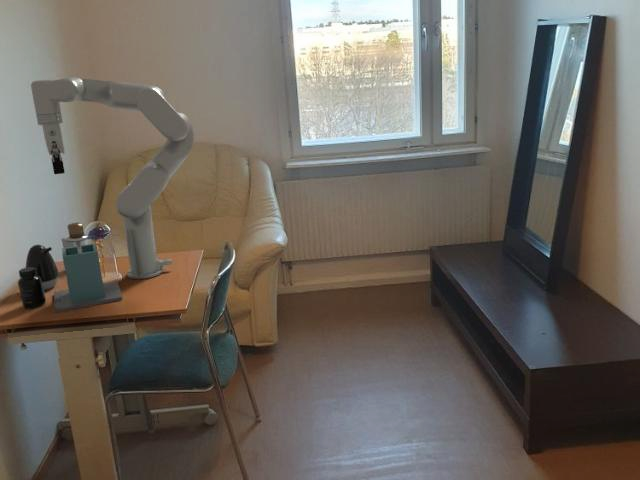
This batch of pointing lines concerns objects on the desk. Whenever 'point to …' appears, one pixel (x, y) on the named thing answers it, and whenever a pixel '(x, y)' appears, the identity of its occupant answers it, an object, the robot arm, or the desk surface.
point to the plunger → (76, 234)
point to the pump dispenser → (43, 265)
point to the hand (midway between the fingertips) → (59, 171)
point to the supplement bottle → (31, 288)
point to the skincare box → (69, 243)
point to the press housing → (84, 281)
